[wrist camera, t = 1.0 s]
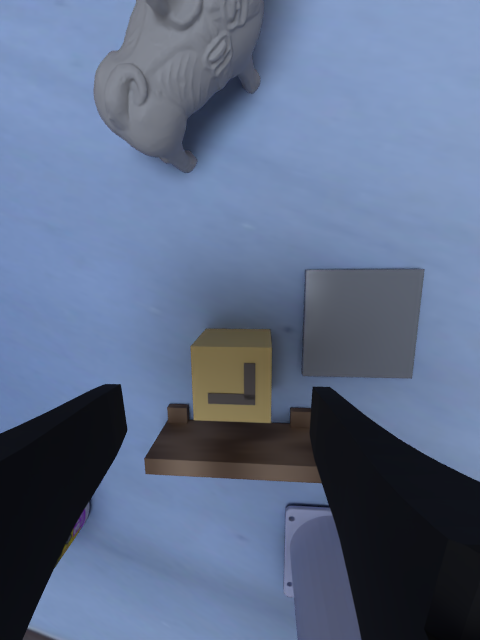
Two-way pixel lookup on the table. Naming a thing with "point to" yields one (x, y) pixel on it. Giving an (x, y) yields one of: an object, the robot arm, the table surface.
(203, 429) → the wooden board
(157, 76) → the dog figurine
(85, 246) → the table surface
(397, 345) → the coaster
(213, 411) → the cube
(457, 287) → the table surface
